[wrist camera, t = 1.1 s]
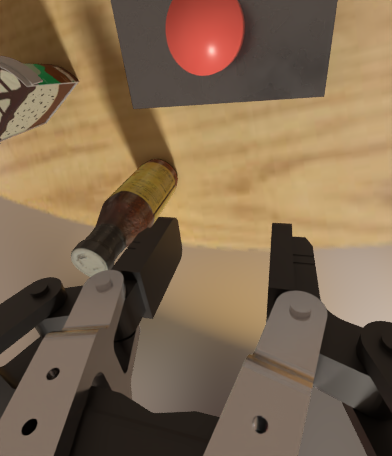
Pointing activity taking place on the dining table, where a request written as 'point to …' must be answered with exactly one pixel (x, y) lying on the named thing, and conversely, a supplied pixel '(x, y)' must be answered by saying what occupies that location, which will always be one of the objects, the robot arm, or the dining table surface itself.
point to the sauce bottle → (126, 216)
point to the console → (243, 63)
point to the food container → (30, 94)
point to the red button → (205, 34)
